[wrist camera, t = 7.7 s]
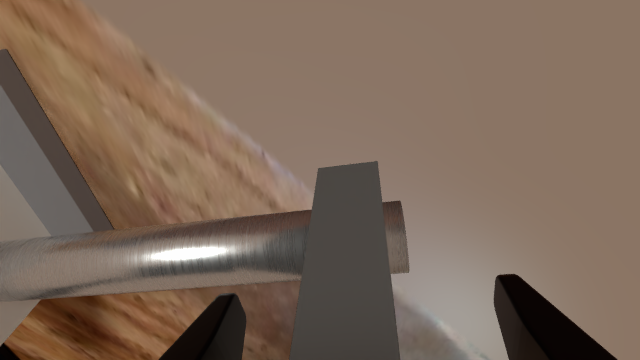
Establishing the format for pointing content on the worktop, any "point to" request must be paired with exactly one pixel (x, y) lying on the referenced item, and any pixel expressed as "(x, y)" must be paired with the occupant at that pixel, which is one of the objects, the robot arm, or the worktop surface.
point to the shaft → (248, 263)
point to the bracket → (36, 181)
